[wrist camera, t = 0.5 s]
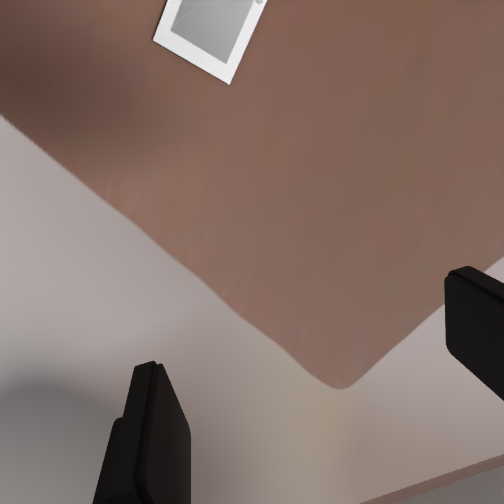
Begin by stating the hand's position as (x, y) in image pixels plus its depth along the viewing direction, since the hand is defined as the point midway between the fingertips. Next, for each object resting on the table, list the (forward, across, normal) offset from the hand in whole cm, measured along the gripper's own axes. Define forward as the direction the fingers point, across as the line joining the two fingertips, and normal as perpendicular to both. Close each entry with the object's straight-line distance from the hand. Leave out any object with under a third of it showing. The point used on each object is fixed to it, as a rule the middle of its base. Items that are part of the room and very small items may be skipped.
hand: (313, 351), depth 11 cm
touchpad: (+30, -5, -18) cm, 35 cm away
